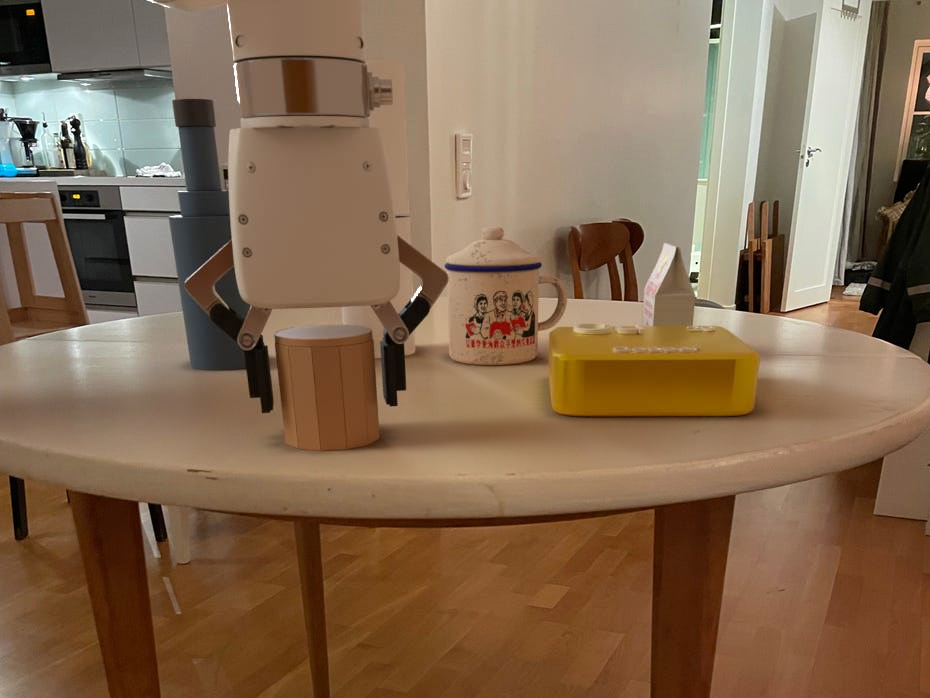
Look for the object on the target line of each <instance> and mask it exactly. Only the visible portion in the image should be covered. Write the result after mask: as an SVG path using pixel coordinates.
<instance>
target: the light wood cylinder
mask: <svg viewBox="0 0 930 698" xmlns="http://www.w3.org/2000/svg"><path fill="white" fill-rule="evenodd" d="M273 338H274V349H275V359H276V368H277V376H278V378H277V379H278V387H279V395H280V406H281V415H282V424H283V425H282V426H283V433H284V442H285V444H286V445H287V446H290V447H293V448H295V449H298V450H306V451H308V450H309V451H317V452H327V451H329V452H330V451H344V450H345V451H346V450H351V449H355V448H360V447H365V446H369V445H371V444H373V443H375V442H376V441H378V440H379V439H380V423H379V408H378V407H379V406H378V391H377V388H378V387H377V373H376V358H375V356H374V340H373V336H372V330H371V329H370V328H367V327H363V326H356V325H343V324H313V325H312V324H311V325H302V326H301V325H300V326H293V327H286V328H282V329H279V330H276V331H275V332H274V333H273Z"/></svg>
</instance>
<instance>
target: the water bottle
mask: <svg viewBox="0 0 930 698" xmlns="http://www.w3.org/2000/svg"><path fill="white" fill-rule="evenodd" d="M171 104H172V109H173V117H174V118H173V119H174V126H175V127H176V128H177V129H178V136H179V143H180V150H181V151H180V152H181V158H182V165H183V171H184V179H185V185H186V190H179V191H177V197H178V202H179V210H180V215H170V216H168V222H169V229H170V236H171V243H172V249H173V255H174V262H175V270H176V275H177V282H178V289H179V295H180V302H181V309H182V314H183V315H182V316H183V322H184V329H185V336H186V341H187V348H188V349H187V350H188V357H189V363H190V366H191V368H192V369H196V370H202V371H235V370H243V369H246V363H245V355H244V349H242V348H241V347H240V346H239V345H238V343H237V342H236V341H235V340H233V339H232V338H231V337H230V336H229V335H228V334H226V333H225V332H224V331H223V330H222V329H221V328H220V327H218V326H217V325H216V324H215V323H214V322H213V321H212V320H211V318H210V317H209V316H208V314H207V313H206V312H205V311H204V310H203V309H202V308H201V307H200V306H199V305H198V304H197V303H196V301H195V300H194V299H193V298H192V297H191V296H190V295H189V294H188V292H187V291H186V290H185V286H184V284H185V281H186V280H187V279H188V278H189V277H190V276H191V275H192V274H193V273H195V272H196V271H197V270H198V269H199V268H200V267H201V266H202V265H203V264H204V263H206V262H207V261H208V260H209V259H210V258H211V257H212V256H213V255H214V254H216V253H217V252H218V251H219V250H220V249H221V248H222V247H223V246H224V245H226V244H227V243H228V242H229V241H230V240H231V239H232V235H231V222H230V206H229V190H223V188H222V181H221V174H220V164H219V155H218V149H217V141H216V134H215V133H216V132H215V128H216V127H217V121H216V115H215V114H216V113H215V105H214V100H213V99H209V98H174V99H172V100H171ZM215 291H216V292H217V294H218V295H219V296H220V298H221V299H222V300H223V301H224V302H225V303H226V304H227V305H228V306H230V307H231V308H232V309H233V310H234V311H235V312H236V313H238V314H239V315H240V316H241V317H242V318H243V319H244V320H245V318H246V316H247V313H248V311H249V309H250V307H251V305H250V304H248V303H246V302H245V301H244V300H243V299H242V298H241V296H240V293H239V290H238V285H237V281H236V275H235V268H234V267H233V268H232V269H230V270H229V271H228V272H227V273H226V274H225V275H224V276H223V277H222V278H220V279H219V280H218V281H217V282H216V283H215Z"/></svg>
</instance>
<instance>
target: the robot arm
mask: <svg viewBox="0 0 930 698" xmlns="http://www.w3.org/2000/svg"><path fill="white" fill-rule="evenodd" d="M147 1H149V2H151V3H155V4H158V5H160V6H163V7H167V8H169V9H173V10H177V11H184V12H199V11H200V12H201V11H207V10H212V9H217V8H219V7H224V6H227V15H228V23H229V31H230V40H231V47H232V56H233V57H232V58H233V64H234V65H233V68H234V76H235V87H236V94H237V103H238V112H239V118H240V119H239V121H240V128H239V127H238V128H231V129H229V136H228V153H227V156H228V157H227V179H228V181H227V182H228V191H229V206H230V222H231V235H232V239H231V240H230V241H229V242H228V243H227V244H226V245H224V246H223V247H222V248H221V249H220V250H219V251H218V252H217V253H216V254H214V255H213V256H212V257H211V258H210V259H209V260H208V261H207V262H206V263H204V264H203V265H202V266H201V267H200V268H199V269H198V270H197V271H196V272H195V273H193V274H192V275H191V276H190V277H189V278H188V279H187V280H186V281H185V284H184V286H185V290H186V291H187V292H188V294H189V295H190V296H191V297H192V298H193V299H194V300H195V301H196V303H197V304H198V305H199V306H200V307H201V308H202V309H203V310H204V311H205V312H206V313H207V314H208V316H209V317H210V318H211V320H212V321H213V322H214V323H215V324H216V325H217V326H218V327H220V328H221V329H222V330H223V331H224V332H225V333H226V334H228V335H229V336H230V337H231V338H232V339H233V340H235V341H236V342H237V343H238V345H239V346H240V347H241V348H242V349H244V355H245V363H246V368H245V370H246V379H247V387H248V391H249V392H248V394H249V398H250V399H259V400H260V409H261V414H269V413H271V411H272V412H273V411H274V405H275V399H274V391H273V390H274V389H273V382H272V374H271V363H270V356H269V346H268V345H265V342H264V336H263V334H262V333H263V331H264V329H265V326H266V324H267V323H268V320H269V318H270V316H271V314H272V311H273V310H288V309H289V310H291V309H318V308H319V309H320V308H321V309H323V308H342V307H351V306H371V308H372V309H373V311H374V312H375V314H376V315H377V317H378V318H379V320H380V322H381V323H382V325H383V326H384V328H385V329H384V331H383V337H384V338H383V341H380V349H381V358H380V362H381V363H380V364H381V366H380V367H381V380H382V396H383V399H384V402H385V404H386V405H387V406H389V407H391V408H392V407H398V392H402V391H404V392H405V391H407V374H406V373H407V371H406V356H405V352H404V343H405V342H406V341H407V340H408V338H409V335H410V334H411V333H412V332H413V331H414V330H416V329H417V328H418V326H419V325H420V324H421V323H422V322H423V321H424V320H425V318H426V317H427V316H428V315H429V314H430V312H431V309H432V307H433V306H434V304H435V303H436V302H437V300H438V299H439V297H440V295H441V294H442V293H443V291H444V289H445V288H446V286H448V281H449V277H448V274H447V271H445V270H444V269H443V268H442V267H440V266H439V265H437V264H436V263H435V262H434V261H432V260H431V259H430V258H428V257H427V256H425V255H424V254H423V253H422V252H420V251H419V250H418V249H416V248H415V247H414V246H413V245H412V244H411V245H410V244H408V243H407V242H406V241H404V240H403V239H402V238H401V237H399V236H398V235H397V227H396V218H395V216H396V215H395V209H394V200H393V192H392V187H391V181H390V176H389V170H388V162H387V155H386V150H385V146H384V141H383V137H382V133H381V130H380V128H371V127H370V126H369V119H368V117H369V116H370V112H373V111H374V108H380V105H392V102H393V93H392V81H391V79H379V77H372V72H368V71H367V64H365V59H366V48H365V46H366V45H365V44H366V43H365V27H364V9H363V6H364V5H363V0H147ZM399 262H401V263H402V264H403V265H405V266H406V267H407V268H409V269H410V270H411V271H412V273H414V274H415V275H417V276H418V277H419V280H420V284H419V286H418V288H417V290H416V291H415V293H414V294H413V297H412V298H411V299H410V301H409V302H408V303H407V304H406V305H405V306H404V307H403V309H402V310H401V311H400V312H399V313H397V311H396V310H395V308H394V307H393V305H392V304H391V302H390V300H391V299H393V298H394V297H395V296H396V295H397V294H398V291H399V285H400V264H399ZM233 267H234V268H235V275H236V281H237V285H238V290H239V293H240V296H241V298H242V299H243V300H244V301H245V302H246V303H248V304H250V305H251V307H250V309H249V311H248V313H247V316H246V318H245V320H244V319H243V318H242V317H241V316H240V315H239V314H238V313H236V312H235V311H234V310H233V309H232V308H231V307H230V306H228V305H227V304H226V303H225V302H224V301H223V300H222V299H221V298H220V296H219V295H218V294H217V292H216V291H215V283H216V282H217V281H218V280H219V279H220V278H222V277H223V276H224V275H225V274H226V273H227V272H228V271H229V270H230V269H232V268H233Z"/></svg>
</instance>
